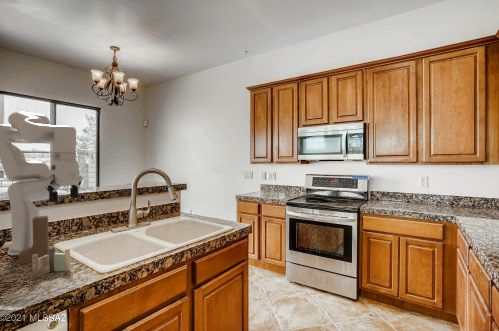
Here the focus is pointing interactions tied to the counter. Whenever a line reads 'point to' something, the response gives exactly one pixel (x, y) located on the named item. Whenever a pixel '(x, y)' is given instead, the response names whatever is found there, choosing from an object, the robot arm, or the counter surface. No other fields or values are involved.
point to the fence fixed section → (43, 263)
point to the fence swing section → (62, 261)
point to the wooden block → (37, 240)
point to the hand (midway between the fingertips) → (64, 199)
